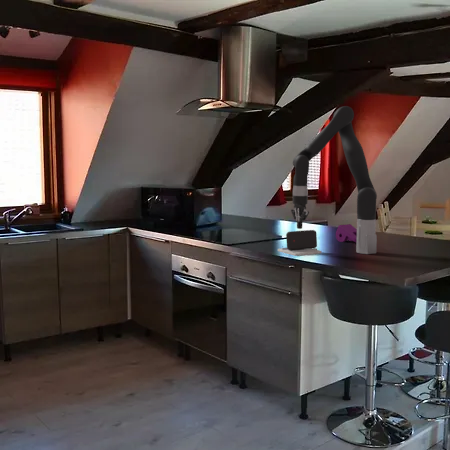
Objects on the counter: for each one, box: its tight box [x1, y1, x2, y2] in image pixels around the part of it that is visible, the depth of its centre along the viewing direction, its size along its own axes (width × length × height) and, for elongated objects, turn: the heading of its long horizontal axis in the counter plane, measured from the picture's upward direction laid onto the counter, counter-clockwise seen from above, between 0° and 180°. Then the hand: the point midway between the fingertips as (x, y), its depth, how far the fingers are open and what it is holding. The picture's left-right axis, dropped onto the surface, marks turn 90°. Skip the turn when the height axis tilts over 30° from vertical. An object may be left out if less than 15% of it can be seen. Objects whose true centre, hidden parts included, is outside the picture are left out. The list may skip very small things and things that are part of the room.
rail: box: [281, 247, 318, 252], centre depth 279 cm, size 10×15×1 cm, turn 117°
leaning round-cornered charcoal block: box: [285, 229, 318, 250], centre depth 279 cm, size 16×5×9 cm, turn 103°
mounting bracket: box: [335, 223, 357, 243], centre depth 313 cm, size 10×8×18 cm
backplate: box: [277, 247, 322, 257], centre depth 279 cm, size 16×16×1 cm
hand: (299, 228), depth 278 cm, fingers closed
